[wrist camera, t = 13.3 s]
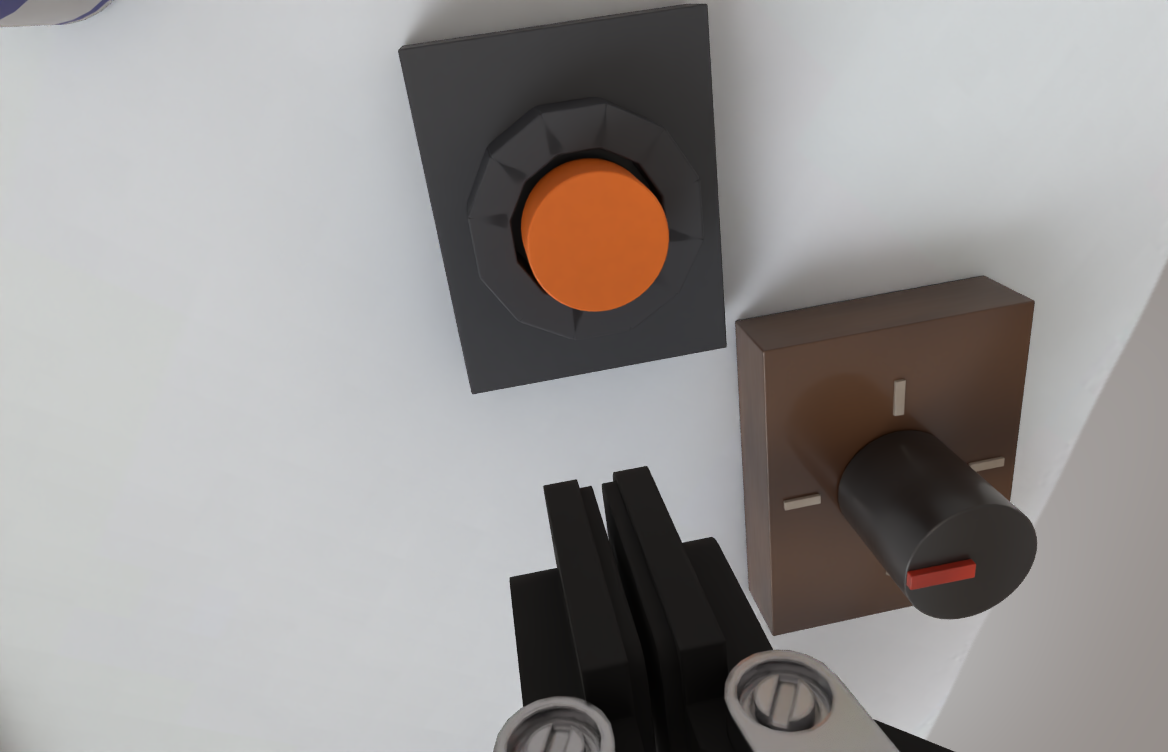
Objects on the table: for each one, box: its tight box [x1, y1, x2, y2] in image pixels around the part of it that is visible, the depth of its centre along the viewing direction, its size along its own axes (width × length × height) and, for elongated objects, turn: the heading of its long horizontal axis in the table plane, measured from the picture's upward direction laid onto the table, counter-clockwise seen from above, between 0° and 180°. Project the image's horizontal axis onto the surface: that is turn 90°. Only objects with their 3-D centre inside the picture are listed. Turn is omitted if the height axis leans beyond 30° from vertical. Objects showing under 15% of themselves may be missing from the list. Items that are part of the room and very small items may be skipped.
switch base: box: [398, 4, 727, 394], centre depth 25 cm, size 11×9×4 cm
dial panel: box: [735, 276, 1035, 636], centre depth 32 cm, size 13×10×3 cm
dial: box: [838, 430, 1037, 619], centre depth 28 cm, size 5×5×5 cm
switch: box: [521, 158, 669, 311], centre depth 23 cm, size 4×4×2 cm
